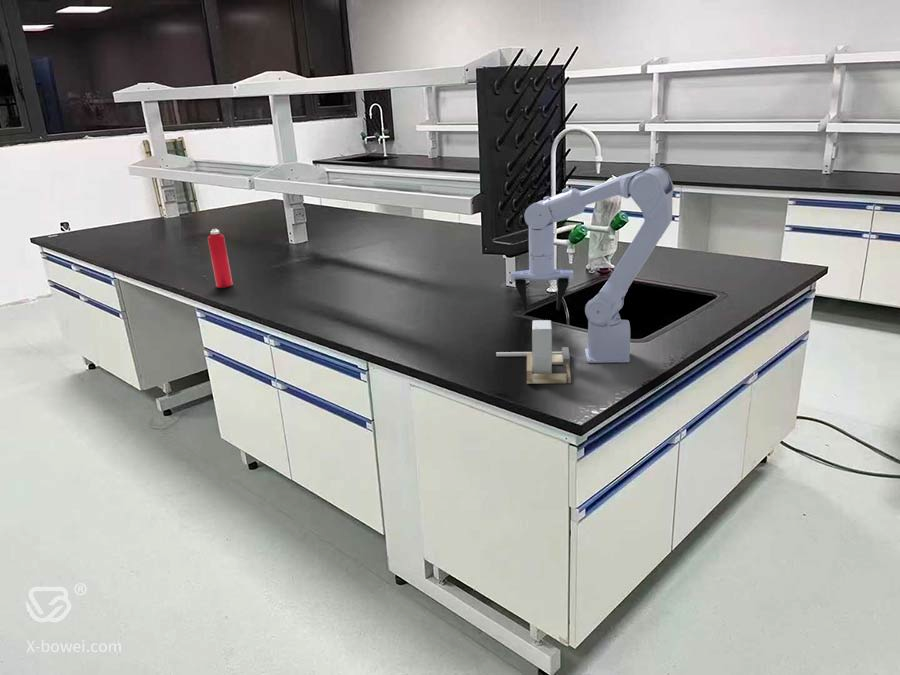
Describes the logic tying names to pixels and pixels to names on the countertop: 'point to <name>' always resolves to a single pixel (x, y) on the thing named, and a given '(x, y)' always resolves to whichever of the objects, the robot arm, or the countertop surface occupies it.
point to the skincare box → (541, 347)
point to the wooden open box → (547, 377)
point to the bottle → (219, 259)
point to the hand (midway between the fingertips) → (541, 309)
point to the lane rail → (564, 352)
